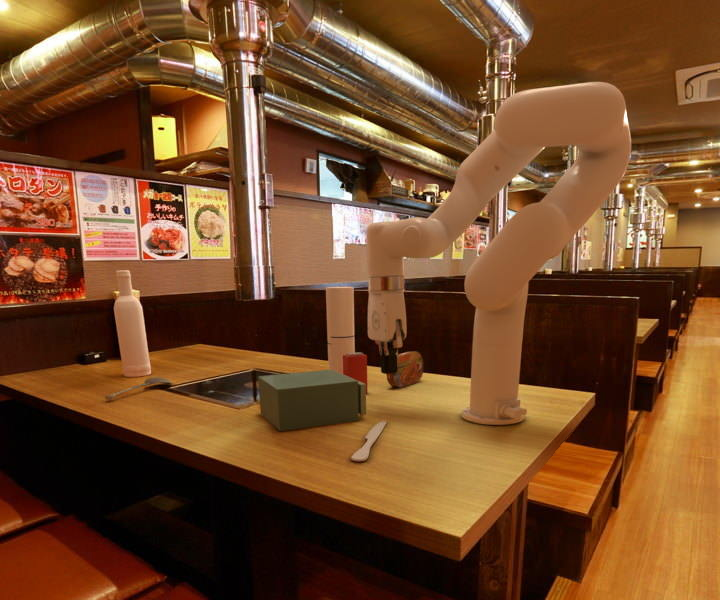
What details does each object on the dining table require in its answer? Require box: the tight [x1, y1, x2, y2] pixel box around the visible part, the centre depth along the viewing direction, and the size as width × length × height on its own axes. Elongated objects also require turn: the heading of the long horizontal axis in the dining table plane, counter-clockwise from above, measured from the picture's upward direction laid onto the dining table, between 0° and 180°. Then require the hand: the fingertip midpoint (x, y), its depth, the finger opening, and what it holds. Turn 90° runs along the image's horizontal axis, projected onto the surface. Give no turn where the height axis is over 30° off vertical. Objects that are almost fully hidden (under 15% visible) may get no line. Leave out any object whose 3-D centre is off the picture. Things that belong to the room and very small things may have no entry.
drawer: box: [345, 375, 367, 416], centre depth 118 cm, size 17×14×6 cm
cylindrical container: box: [325, 286, 356, 374], centre depth 147 cm, size 7×7×25 cm
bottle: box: [113, 269, 152, 378], centre depth 163 cm, size 8×8×30 cm
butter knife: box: [350, 420, 388, 463], centre depth 101 cm, size 1×24×3 cm
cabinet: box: [257, 369, 360, 432], centre depth 116 cm, size 17×15×8 cm
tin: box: [386, 350, 425, 388], centre depth 147 cm, size 15×3×8 cm, turn 143°
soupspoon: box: [104, 376, 173, 403], centre depth 144 cm, size 22×3×7 cm
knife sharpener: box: [343, 352, 368, 395], centre depth 137 cm, size 4×5×10 cm
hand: (389, 372), depth 122 cm, fingers closed
